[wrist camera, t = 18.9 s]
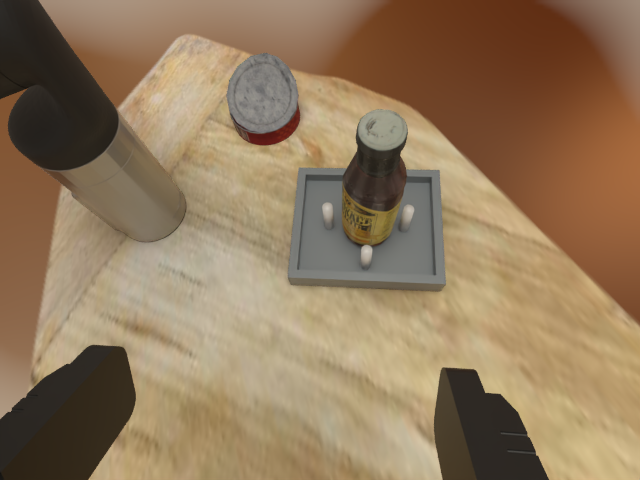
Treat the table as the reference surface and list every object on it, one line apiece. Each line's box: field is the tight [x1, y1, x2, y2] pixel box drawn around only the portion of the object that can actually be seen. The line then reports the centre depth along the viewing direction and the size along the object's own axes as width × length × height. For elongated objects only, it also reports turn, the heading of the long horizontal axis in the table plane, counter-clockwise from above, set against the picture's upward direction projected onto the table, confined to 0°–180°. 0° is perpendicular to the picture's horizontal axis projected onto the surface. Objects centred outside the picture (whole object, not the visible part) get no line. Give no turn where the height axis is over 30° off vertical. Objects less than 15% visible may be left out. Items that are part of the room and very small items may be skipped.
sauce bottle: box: [342, 109, 408, 247], centre depth 41 cm, size 6×6×20 cm
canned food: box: [227, 53, 300, 145], centre depth 57 cm, size 11×10×10 cm
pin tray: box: [288, 168, 446, 291], centre depth 48 cm, size 18×15×6 cm
